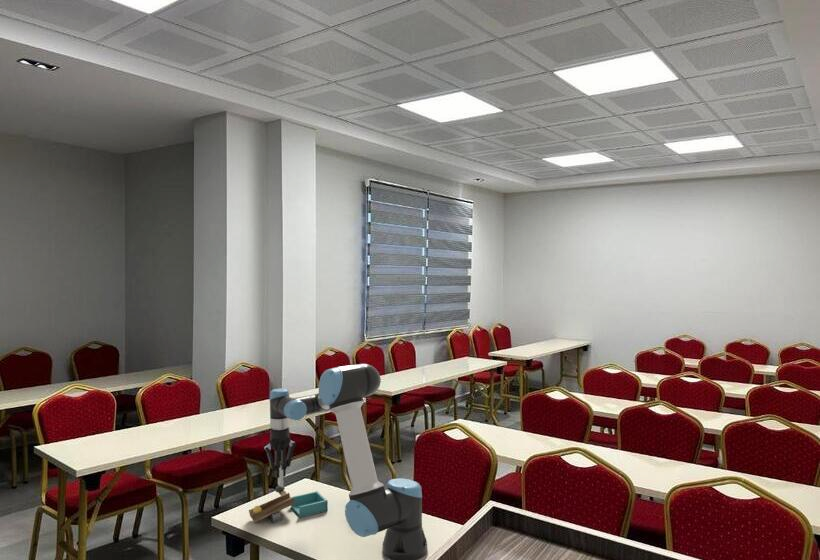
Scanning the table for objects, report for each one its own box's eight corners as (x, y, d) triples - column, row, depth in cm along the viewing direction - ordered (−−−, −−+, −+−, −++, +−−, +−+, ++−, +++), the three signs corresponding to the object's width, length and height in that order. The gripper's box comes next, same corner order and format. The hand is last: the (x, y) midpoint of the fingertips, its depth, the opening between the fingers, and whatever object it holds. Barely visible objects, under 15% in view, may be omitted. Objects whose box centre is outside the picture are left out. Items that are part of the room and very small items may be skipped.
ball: (263, 514, 209) (261, 506, 209) (255, 517, 208) (253, 509, 207) (261, 510, 212) (259, 503, 212) (252, 514, 210) (251, 506, 210)
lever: (297, 505, 215) (295, 497, 214) (255, 525, 206) (252, 516, 206) (284, 490, 229) (282, 482, 229) (243, 508, 221) (241, 499, 220)
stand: (282, 521, 210) (282, 512, 210) (271, 523, 208) (271, 515, 208) (274, 511, 218) (274, 503, 218) (264, 514, 216) (264, 505, 216)
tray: (327, 510, 218) (327, 500, 218) (300, 517, 213) (299, 507, 213) (317, 500, 228) (317, 491, 228) (290, 507, 222) (290, 497, 222)
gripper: (292, 422, 232) (293, 478, 233) (261, 427, 226) (262, 485, 226) (298, 427, 226) (299, 484, 227) (266, 432, 219) (267, 491, 220)
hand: (280, 484), depth 226 cm, fingers closed
